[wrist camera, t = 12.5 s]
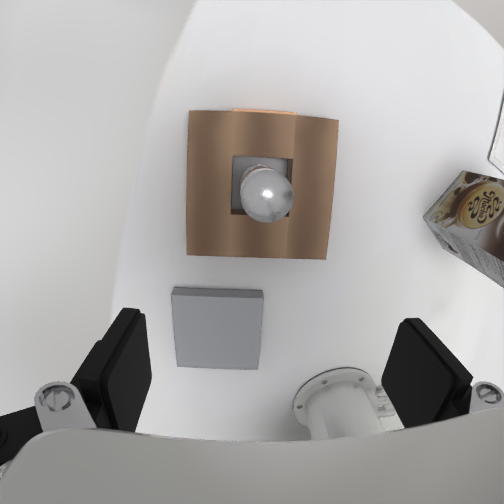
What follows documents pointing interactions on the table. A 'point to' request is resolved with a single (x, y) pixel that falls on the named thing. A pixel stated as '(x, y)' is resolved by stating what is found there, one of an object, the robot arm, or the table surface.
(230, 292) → the pad
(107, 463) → the robot arm
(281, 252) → the hole board
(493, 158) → the dessert
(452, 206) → the coffee box
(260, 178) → the peg
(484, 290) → the table surface
